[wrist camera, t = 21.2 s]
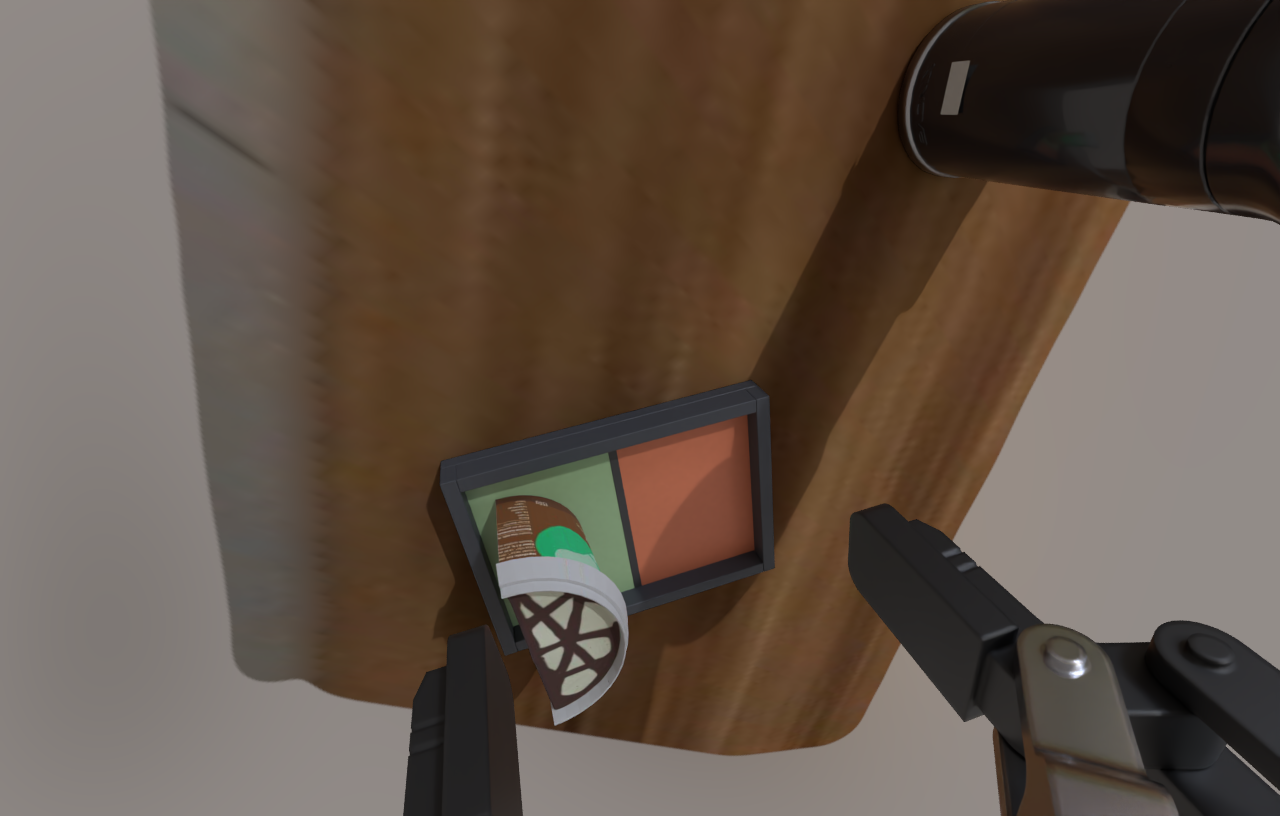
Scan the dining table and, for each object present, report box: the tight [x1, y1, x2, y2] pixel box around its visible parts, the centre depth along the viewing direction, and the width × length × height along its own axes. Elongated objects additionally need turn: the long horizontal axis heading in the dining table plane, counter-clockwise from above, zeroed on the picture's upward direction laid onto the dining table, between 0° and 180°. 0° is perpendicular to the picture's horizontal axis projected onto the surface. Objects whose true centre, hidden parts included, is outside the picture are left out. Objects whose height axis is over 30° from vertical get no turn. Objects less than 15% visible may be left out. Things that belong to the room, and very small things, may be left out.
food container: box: [495, 495, 628, 725], centre depth 37 cm, size 12×6×10 cm, turn 10°
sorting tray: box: [440, 380, 775, 656], centre depth 42 cm, size 22×16×3 cm
